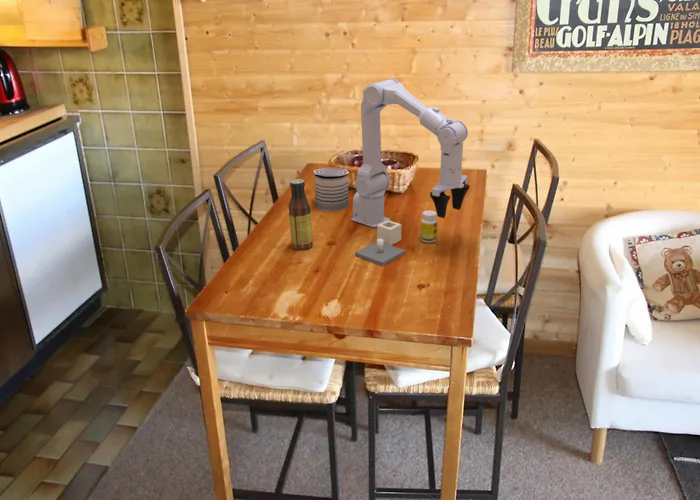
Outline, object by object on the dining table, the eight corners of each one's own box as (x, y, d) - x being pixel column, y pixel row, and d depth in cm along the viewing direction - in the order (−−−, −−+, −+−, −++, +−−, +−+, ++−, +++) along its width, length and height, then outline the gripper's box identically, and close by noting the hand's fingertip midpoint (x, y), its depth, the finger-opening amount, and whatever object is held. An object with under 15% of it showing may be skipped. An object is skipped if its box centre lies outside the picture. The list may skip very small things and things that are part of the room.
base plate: (355, 255, 199) (354, 241, 197) (377, 244, 206) (377, 229, 204) (382, 265, 193) (382, 250, 191) (405, 253, 200) (405, 239, 198)
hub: (377, 240, 208) (377, 225, 206) (387, 235, 211) (387, 220, 209) (390, 245, 205) (390, 229, 203) (401, 240, 208) (401, 224, 206)
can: (307, 207, 232) (306, 172, 227) (327, 196, 241) (326, 162, 236) (337, 214, 227) (336, 178, 222) (355, 202, 236) (355, 168, 230)
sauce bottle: (317, 243, 207) (314, 179, 198) (306, 252, 202) (303, 186, 193) (297, 240, 209) (293, 176, 201) (286, 248, 204) (282, 183, 196)
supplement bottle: (435, 243, 206) (436, 216, 202) (419, 242, 207) (420, 215, 203) (437, 236, 210) (438, 210, 206) (421, 235, 211) (422, 209, 207)
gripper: (448, 176, 187) (445, 224, 193) (478, 163, 197) (475, 208, 202) (426, 171, 191) (424, 217, 197) (456, 158, 201) (454, 202, 207)
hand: (448, 212), depth 200 cm, fingers open, 7 cm apart
